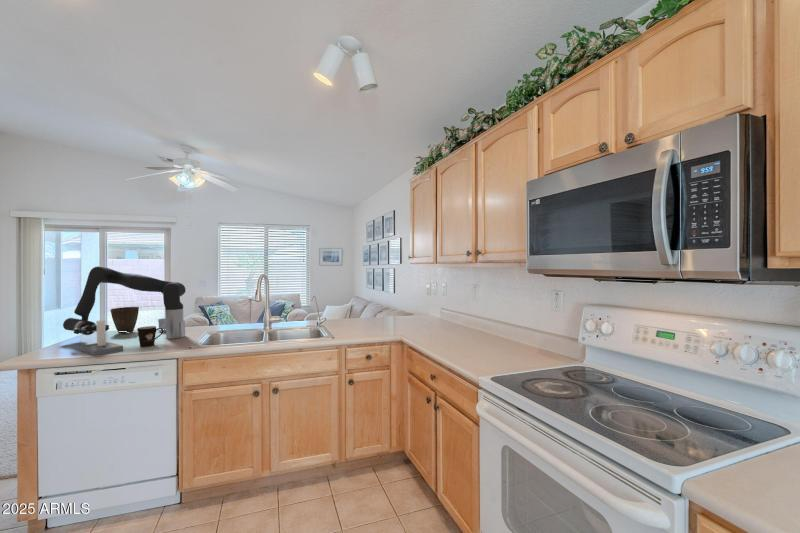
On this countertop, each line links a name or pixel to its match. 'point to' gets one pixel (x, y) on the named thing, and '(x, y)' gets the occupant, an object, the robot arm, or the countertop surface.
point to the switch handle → (101, 333)
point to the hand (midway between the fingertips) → (96, 330)
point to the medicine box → (162, 324)
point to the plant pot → (125, 318)
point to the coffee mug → (147, 335)
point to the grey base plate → (101, 348)
